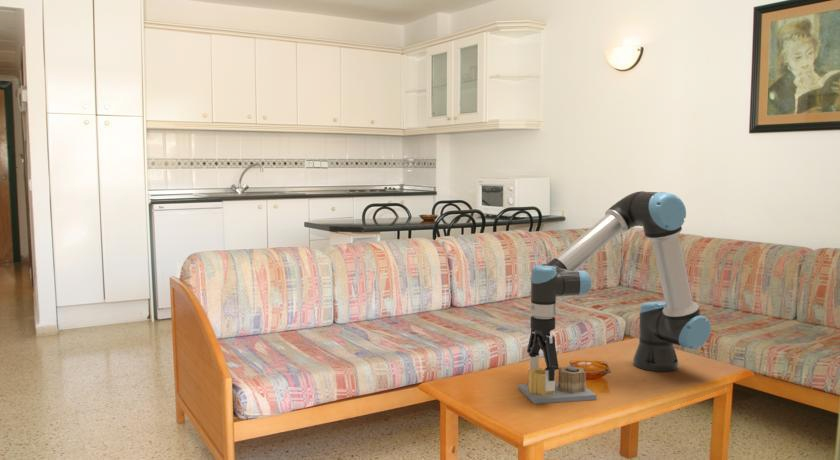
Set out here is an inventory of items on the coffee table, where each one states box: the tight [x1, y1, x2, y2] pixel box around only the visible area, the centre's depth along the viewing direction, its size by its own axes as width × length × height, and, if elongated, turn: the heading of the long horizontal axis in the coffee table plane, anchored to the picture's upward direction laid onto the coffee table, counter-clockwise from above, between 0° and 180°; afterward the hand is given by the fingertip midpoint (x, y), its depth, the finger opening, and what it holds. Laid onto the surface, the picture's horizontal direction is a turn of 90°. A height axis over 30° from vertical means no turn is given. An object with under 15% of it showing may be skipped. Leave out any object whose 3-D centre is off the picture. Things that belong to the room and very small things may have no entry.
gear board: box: [518, 366, 597, 405], centre depth 213 cm, size 20×14×8 cm
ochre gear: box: [527, 367, 555, 395], centre depth 212 cm, size 8×8×6 cm
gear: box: [557, 365, 587, 393], centre depth 214 cm, size 8×8×6 cm
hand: (541, 383), depth 213 cm, fingers open, 13 cm apart
